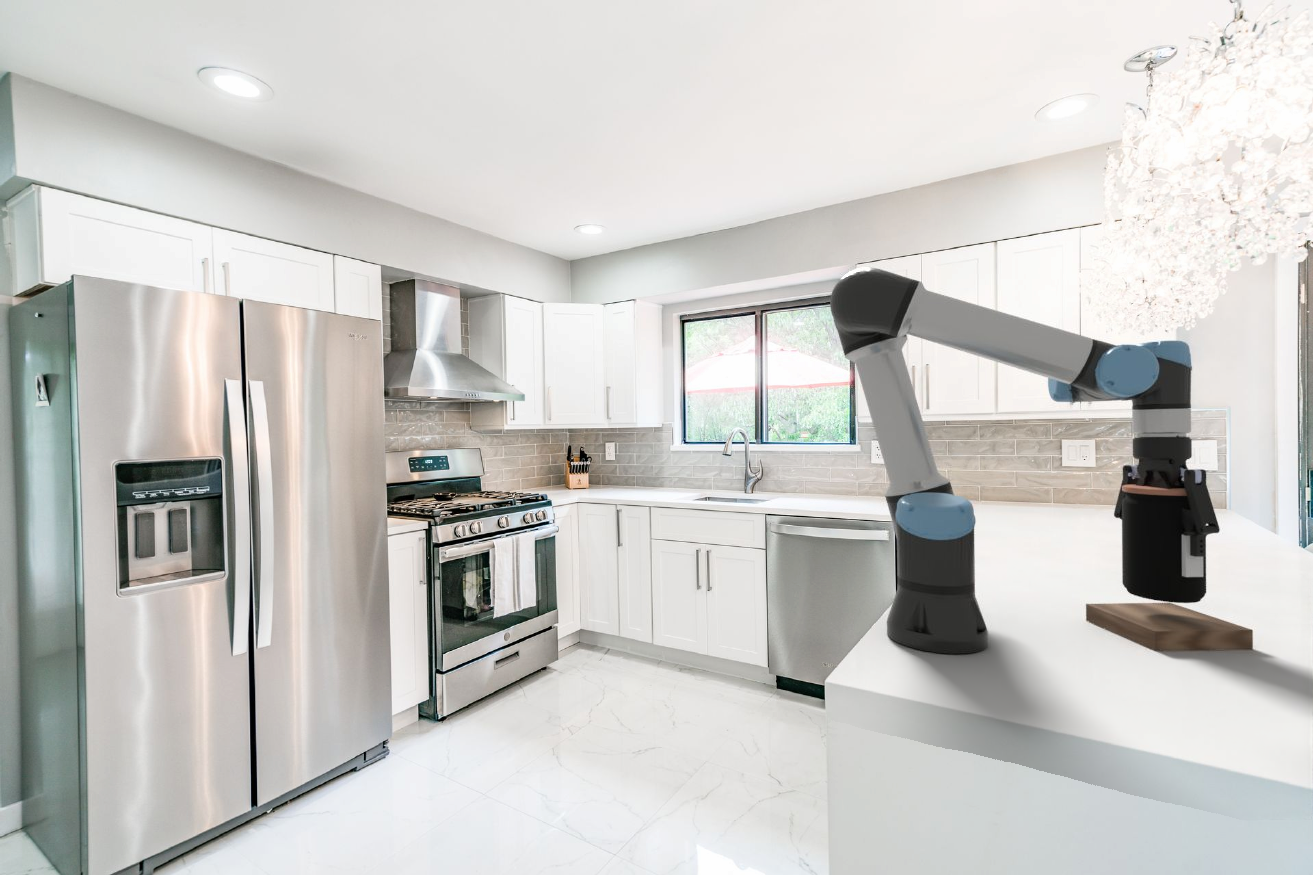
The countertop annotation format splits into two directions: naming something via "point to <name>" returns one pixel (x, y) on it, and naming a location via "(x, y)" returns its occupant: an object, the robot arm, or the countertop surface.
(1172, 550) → the coffee jar
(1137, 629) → the walnut riser
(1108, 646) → the countertop surface
